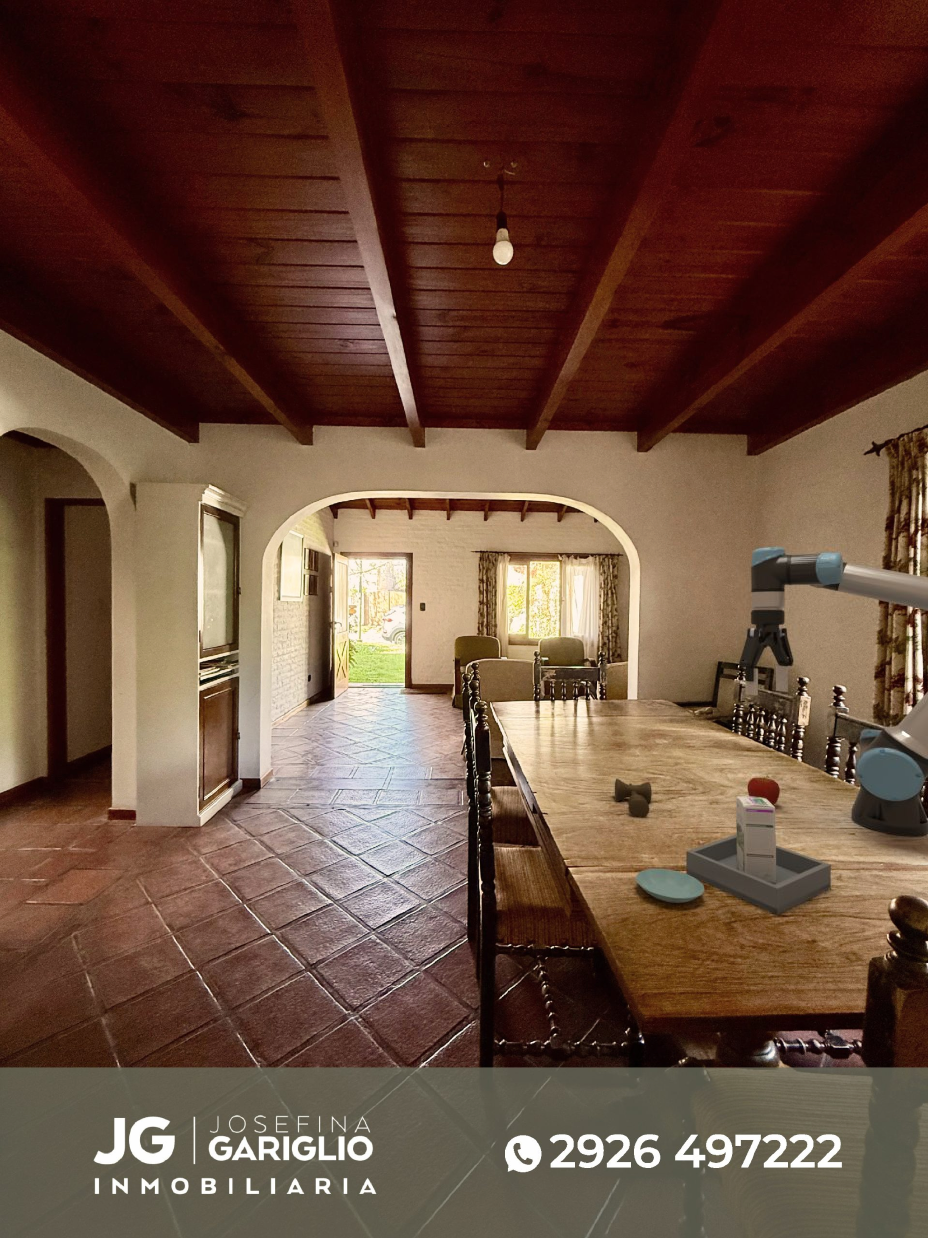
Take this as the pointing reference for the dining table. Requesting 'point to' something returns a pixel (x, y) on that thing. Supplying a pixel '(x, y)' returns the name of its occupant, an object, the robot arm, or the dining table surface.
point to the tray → (792, 886)
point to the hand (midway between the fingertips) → (767, 693)
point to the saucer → (669, 885)
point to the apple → (764, 789)
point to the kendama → (634, 797)
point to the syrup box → (756, 837)
